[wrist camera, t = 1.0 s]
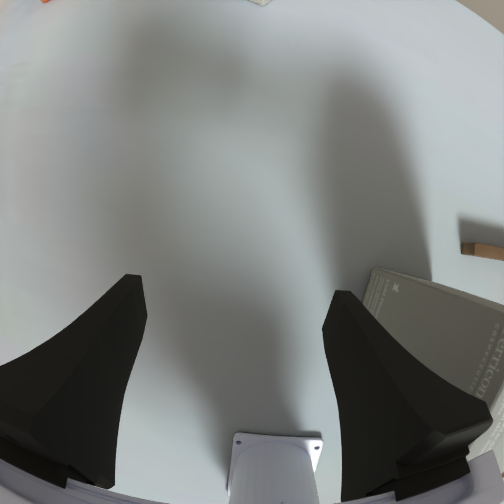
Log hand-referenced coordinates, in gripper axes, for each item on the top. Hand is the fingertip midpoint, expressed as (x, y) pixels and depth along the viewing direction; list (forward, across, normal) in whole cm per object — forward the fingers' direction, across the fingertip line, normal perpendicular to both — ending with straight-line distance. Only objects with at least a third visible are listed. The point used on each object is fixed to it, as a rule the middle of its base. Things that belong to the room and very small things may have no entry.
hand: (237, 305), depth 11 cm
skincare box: (+7, -13, +8) cm, 17 cm away
